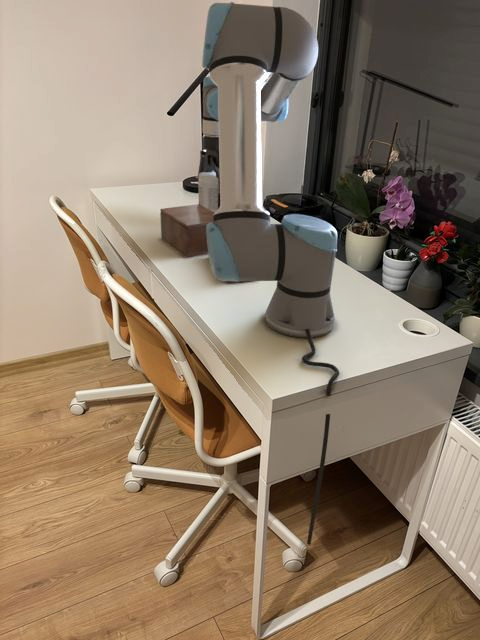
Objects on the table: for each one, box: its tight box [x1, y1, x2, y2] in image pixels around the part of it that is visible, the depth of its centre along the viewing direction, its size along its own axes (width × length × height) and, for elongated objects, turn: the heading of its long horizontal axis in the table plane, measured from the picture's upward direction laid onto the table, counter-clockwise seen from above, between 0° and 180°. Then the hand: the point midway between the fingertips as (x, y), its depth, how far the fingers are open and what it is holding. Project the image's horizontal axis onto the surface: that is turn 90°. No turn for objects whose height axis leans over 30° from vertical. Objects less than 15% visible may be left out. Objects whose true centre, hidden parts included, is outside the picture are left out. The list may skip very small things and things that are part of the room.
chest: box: [160, 211, 209, 258], centre depth 158 cm, size 16×13×8 cm
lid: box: [160, 203, 214, 228], centre depth 155 cm, size 16×13×1 cm
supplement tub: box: [197, 170, 220, 213], centre depth 171 cm, size 10×10×15 cm
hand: (213, 210), depth 173 cm, fingers closed on supplement tub, 10 cm apart
